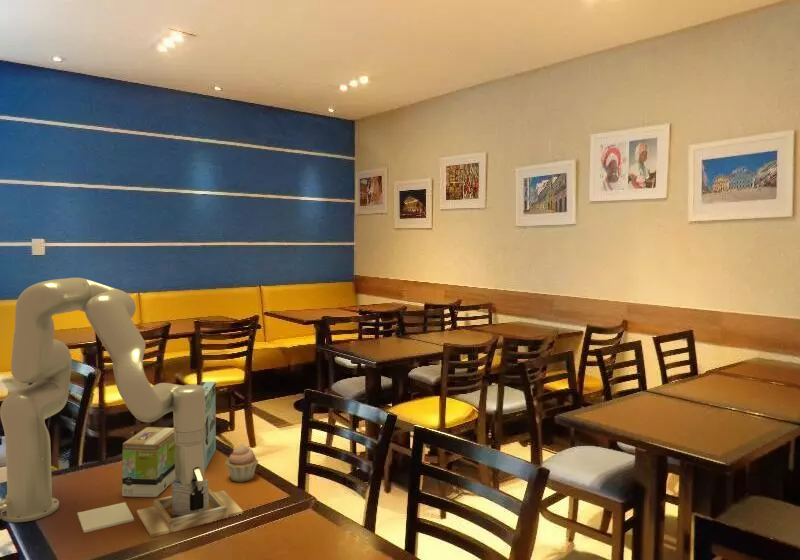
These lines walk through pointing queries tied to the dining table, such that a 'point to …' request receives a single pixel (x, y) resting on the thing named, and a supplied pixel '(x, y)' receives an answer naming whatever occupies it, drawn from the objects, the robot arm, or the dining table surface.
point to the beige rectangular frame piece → (162, 524)
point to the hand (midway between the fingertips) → (191, 502)
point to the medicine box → (186, 498)
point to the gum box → (209, 421)
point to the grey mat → (105, 517)
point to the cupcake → (242, 464)
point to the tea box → (148, 462)
